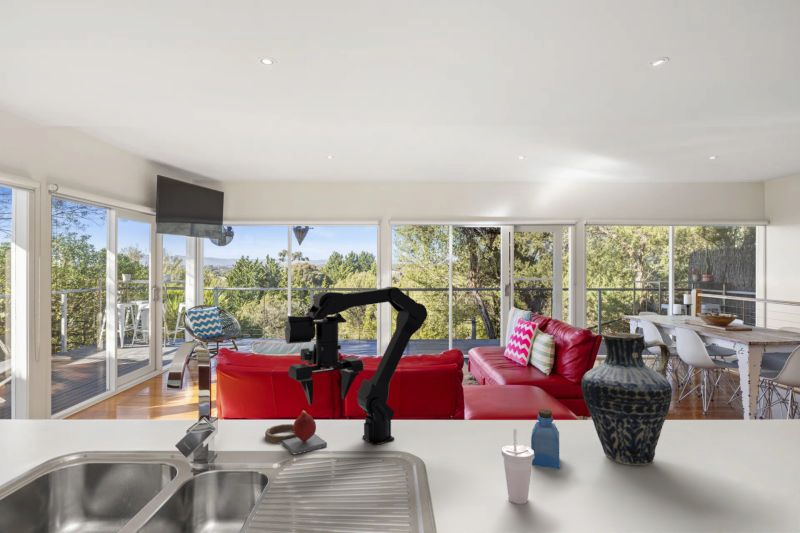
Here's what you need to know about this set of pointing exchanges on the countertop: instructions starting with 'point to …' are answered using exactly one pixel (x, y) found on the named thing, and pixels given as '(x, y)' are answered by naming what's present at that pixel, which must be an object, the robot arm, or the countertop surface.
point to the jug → (628, 398)
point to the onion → (304, 427)
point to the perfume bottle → (545, 441)
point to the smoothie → (517, 470)
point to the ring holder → (277, 429)
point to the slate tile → (304, 444)
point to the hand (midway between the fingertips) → (327, 401)
